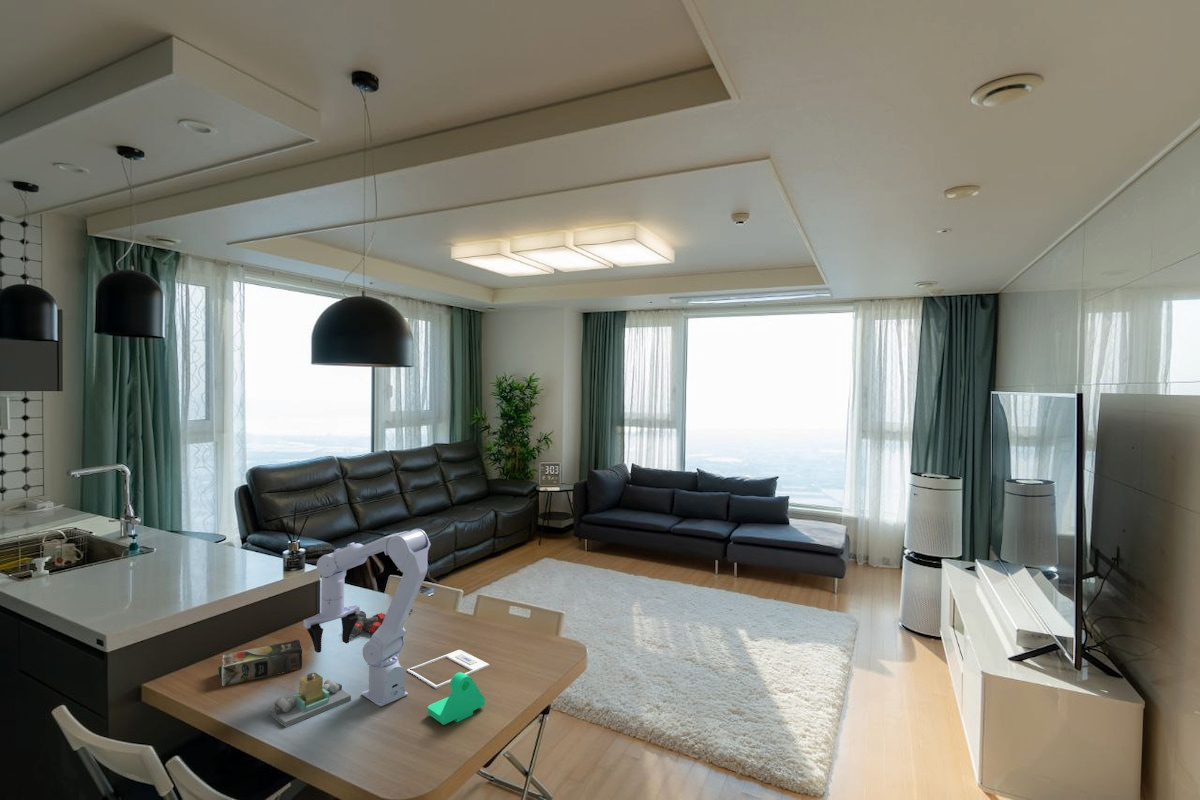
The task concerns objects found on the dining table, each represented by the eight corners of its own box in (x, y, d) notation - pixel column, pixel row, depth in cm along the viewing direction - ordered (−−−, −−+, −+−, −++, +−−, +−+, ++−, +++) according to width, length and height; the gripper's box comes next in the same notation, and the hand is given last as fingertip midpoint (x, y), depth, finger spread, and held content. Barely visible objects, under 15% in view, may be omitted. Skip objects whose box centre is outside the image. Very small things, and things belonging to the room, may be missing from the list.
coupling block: (322, 701, 143) (322, 674, 143) (305, 707, 140) (306, 680, 140) (314, 695, 146) (315, 669, 146) (298, 702, 143) (299, 675, 143)
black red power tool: (370, 651, 179) (338, 635, 186) (428, 626, 203) (397, 613, 209) (373, 631, 179) (341, 616, 186) (431, 609, 203) (400, 596, 209)
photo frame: (489, 663, 167) (435, 686, 153) (489, 667, 167) (435, 690, 153) (459, 648, 176) (406, 668, 162) (459, 652, 176) (406, 672, 162)
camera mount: (466, 698, 149) (467, 659, 149) (484, 709, 143) (485, 668, 143) (425, 717, 140) (426, 675, 140) (443, 729, 134) (444, 686, 134)
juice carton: (217, 689, 151) (218, 665, 151) (217, 674, 160) (218, 652, 160) (302, 671, 162) (302, 649, 163) (298, 658, 171) (298, 637, 171)
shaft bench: (350, 700, 146) (351, 686, 146) (285, 727, 134) (285, 712, 134) (333, 688, 152) (334, 675, 152) (269, 713, 140) (269, 699, 140)
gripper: (351, 587, 163) (350, 634, 163) (298, 600, 152) (297, 651, 152) (363, 592, 159) (363, 641, 159) (310, 606, 147) (309, 659, 147)
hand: (331, 646), depth 155 cm, fingers open, 7 cm apart
